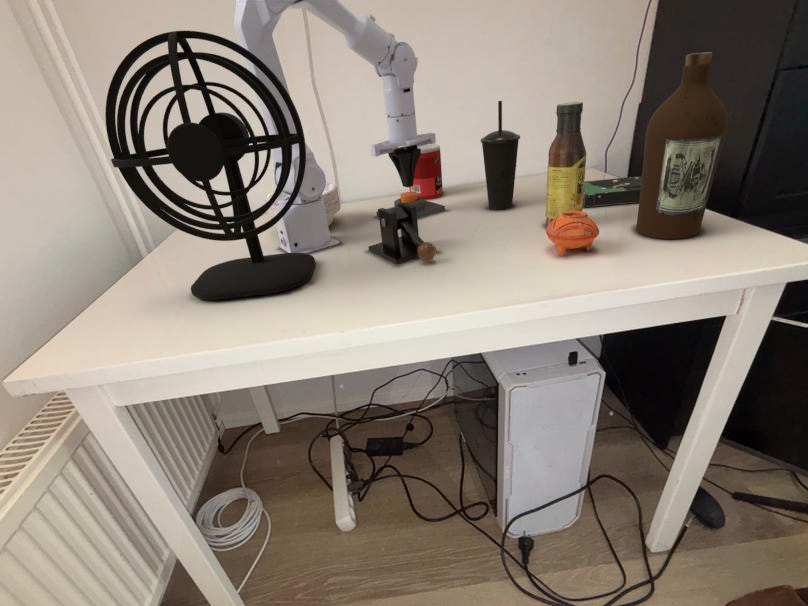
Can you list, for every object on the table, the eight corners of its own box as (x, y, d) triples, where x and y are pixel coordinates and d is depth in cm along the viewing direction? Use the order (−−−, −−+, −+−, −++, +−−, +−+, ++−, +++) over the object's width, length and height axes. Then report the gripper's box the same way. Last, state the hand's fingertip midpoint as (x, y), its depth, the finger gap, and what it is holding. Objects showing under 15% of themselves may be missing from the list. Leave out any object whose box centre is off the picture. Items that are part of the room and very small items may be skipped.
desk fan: (154, 315, 74) (39, 44, 56) (192, 272, 89) (111, 47, 71) (328, 295, 73) (270, 13, 55) (337, 254, 88) (294, 22, 70)
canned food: (443, 198, 114) (440, 148, 108) (410, 201, 115) (405, 152, 109) (442, 190, 120) (439, 142, 115) (410, 193, 121) (405, 146, 115)
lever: (437, 261, 80) (440, 247, 77) (422, 266, 79) (425, 252, 76) (400, 218, 85) (402, 204, 83) (385, 222, 84) (387, 208, 82)
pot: (531, 248, 80) (541, 205, 77) (571, 249, 82) (582, 208, 79) (560, 261, 73) (571, 215, 70) (602, 262, 75) (615, 218, 72)
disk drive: (642, 189, 103) (570, 195, 104) (644, 175, 101) (571, 181, 103) (662, 201, 94) (583, 208, 95) (664, 186, 93) (584, 193, 94)
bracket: (436, 252, 84) (433, 207, 80) (397, 265, 81) (391, 219, 76) (405, 240, 91) (401, 197, 87) (368, 251, 88) (362, 208, 84)
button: (406, 205, 102) (405, 197, 101) (398, 202, 105) (397, 194, 104) (420, 201, 104) (420, 193, 103) (411, 198, 106) (411, 190, 105)
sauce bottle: (582, 229, 85) (593, 103, 75) (545, 231, 87) (551, 107, 76) (578, 218, 91) (588, 99, 80) (544, 220, 92) (549, 103, 81)
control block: (397, 225, 100) (396, 210, 98) (376, 217, 107) (374, 203, 105) (445, 211, 105) (444, 197, 103) (422, 204, 111) (420, 191, 110)
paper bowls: (260, 239, 102) (249, 201, 98) (295, 217, 114) (287, 182, 110) (324, 239, 97) (316, 199, 93) (354, 216, 109) (348, 180, 105)
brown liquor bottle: (625, 222, 86) (647, 57, 73) (691, 218, 84) (726, 47, 71) (641, 243, 77) (669, 59, 64) (714, 239, 75) (760, 48, 62)
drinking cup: (475, 207, 104) (472, 103, 94) (504, 200, 107) (505, 97, 96) (495, 214, 98) (494, 104, 88) (526, 206, 101) (529, 98, 90)
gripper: (378, 121, 89) (388, 196, 97) (442, 109, 95) (446, 181, 102) (361, 120, 95) (371, 191, 102) (422, 109, 100) (428, 177, 108)
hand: (407, 186), depth 103 cm, fingers closed
